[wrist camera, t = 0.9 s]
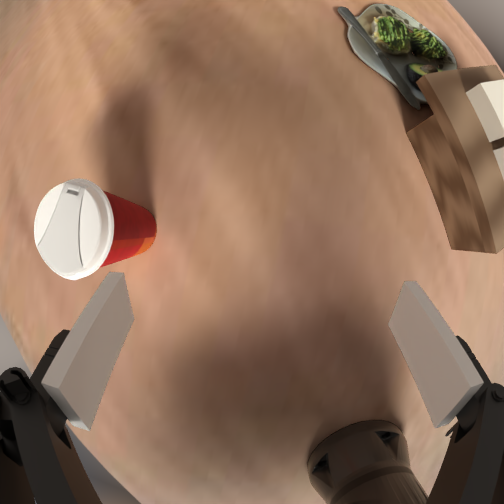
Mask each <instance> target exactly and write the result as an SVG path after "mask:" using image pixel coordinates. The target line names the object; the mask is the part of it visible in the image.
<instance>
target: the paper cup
mask: <svg viewBox="0 0 504 504" xmlns="http://www.w3.org/2000/svg"><path fill="white" fill-rule="evenodd" d="M156 232H157V228H156V222H155V219H154V217H153V216H152V214H151V213H150V212H149V211H148V210H146V209H145V208H143V207H141V206H139V205H137V204H135V203H132V202H130V201H127V200H125V199H123V198H120V197H118V196H115V195H113V194H110V193H108V192H105V191H103V190H102V189H101V188H100V187H99V186H98V185H96V184H95V183H93V182H91V181H89V180H86V179H80V178H79V179H72V180H68V181H66V182H64V183H61V184H59V185H57V186H55V187H54V188H53V189H51V190H50V191H49V192H48V193H47V194H46V195H45V197H44V198H43V200H42V201H41V203H40V205H39V207H38V210H37V213H36V217H35V223H34V237H35V243H36V247H37V249H38V251H39V253H40V255H41V257H42V258H43V260H44V261H45V263H46V264H47V265H48V266H49V267H50V268H51V269H52V270H53V271H54V272H55V273H57V274H58V275H60V276H62V277H63V278H66V279H70V280H77V279H80V278H83V277H86V276H88V275H90V274H92V273H93V272H95V271H96V270H97V269H98V268H100V267H103V266H106V265H109V264H112V263H115V262H118V261H121V260H124V259H127V258H130V257H133V256H135V255H138V254H141V253H143V252H145V251H146V250H147V249H149V248H150V247H151V245H152V244H153V242H154V240H155V237H156Z"/></svg>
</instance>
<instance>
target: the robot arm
mask: <svg viewBox="0 0 504 504" xmlns="http://www.w3.org/2000/svg"><path fill="white" fill-rule="evenodd" d="M133 321H134V315H133V311H132V307H131V303H130V299H129V294H128V290H127V285H126V281H125V276H124V273H121V272H109V273H108V274H107V276H106V277H105V279H104V280H103V282H102V283H101V285H100V286H99V287H98V289H97V290H96V292H95V293H94V295H93V296H92V298H91V299H90V301H89V302H88V304H87V305H86V307H85V308H84V310H83V312H82V313H81V315H80V316H79V318H78V319H77V321H76V323H75V324H74V326H73V327H72V329H71V331H69V330H62V331H61V332H60V333H59V334H58V335H56V336H55V337H54V339H53V340H52V342H51V344H50V345H49V348H48V349H47V350H46V352H45V355H43V357H42V359H41V360H40V362H39V364H38V365H37V367H36V369H35V371H34V372H33V374H32V376H31V378H30V379H29V377H28V376H27V374H26V373H25V371H23V370H22V369H21V368H17V367H13V368H9V369H8V370H6V371H4V372H3V373H2V375H1V376H0V391H1V392H0V504H35V500H36V503H37V504H102V502H101V501H100V499H99V497H98V495H97V493H96V491H95V490H94V488H93V486H92V484H91V482H90V480H89V478H88V476H87V474H86V472H85V470H84V468H83V465H82V463H81V461H80V459H79V457H78V454H77V452H76V450H75V447H74V445H73V442H72V440H71V438H70V435H69V432H68V430H67V428H66V426H65V423H66V420H67V419H68V420H69V421H70V422H71V424H72V425H73V426H75V427H78V428H82V429H85V430H88V431H90V429H91V427H92V424H93V421H94V418H95V415H96V412H97V410H98V407H99V404H100V401H101V399H102V396H103V393H104V391H105V388H106V386H107V383H108V380H109V378H110V375H111V373H112V370H113V368H114V365H115V363H116V360H117V358H118V356H119V353H120V351H121V348H122V346H123V344H124V341H125V339H126V337H127V334H128V332H129V330H130V328H131V325H132V323H133ZM388 326H389V328H390V330H391V332H392V334H393V336H394V338H395V340H396V342H397V344H398V346H399V348H400V350H401V352H402V354H403V356H404V358H405V360H406V362H407V364H408V367H409V369H410V371H411V373H412V375H413V378H414V380H415V382H416V384H417V387H418V389H419V391H420V393H421V396H422V398H423V400H424V403H425V405H426V408H427V410H428V412H429V415H430V417H431V420H432V422H433V425H434V427H435V428H438V427H441V426H444V425H447V424H449V423H450V422H451V421H452V420H453V419H454V417H455V416H456V417H457V419H458V422H457V423H456V424H455V425H454V426H453V427H452V428H451V429H450V430H449V431H448V432H447V433H446V435H445V436H448V435H449V434H450V433H451V432H452V431H453V433H452V436H451V437H450V438H451V439H450V443H449V446H448V449H447V452H446V455H445V458H444V460H443V463H442V466H441V469H440V471H439V474H438V476H437V479H436V481H435V484H434V486H433V488H432V491H431V493H430V495H429V497H428V496H427V494H426V493H425V491H424V490H423V488H422V486H421V485H420V483H419V482H418V480H417V479H416V477H415V476H414V474H413V472H412V471H411V469H410V461H409V453H408V446H407V441H406V439H405V437H404V435H403V434H402V432H401V431H400V430H399V428H398V427H397V426H396V425H394V424H392V423H390V422H387V421H382V420H370V421H364V422H359V423H356V424H353V425H350V426H347V427H345V428H343V429H341V430H339V431H337V432H335V433H334V434H332V435H330V436H329V437H328V438H326V439H325V440H324V441H323V442H322V443H320V444H319V445H318V447H317V448H316V449H315V450H314V451H313V453H312V455H311V456H310V458H309V461H308V474H309V479H310V482H311V484H312V486H313V487H314V488H315V490H316V491H317V492H318V493H319V495H320V496H321V497H322V498H323V499H324V501H325V502H326V503H327V504H504V387H503V386H502V385H500V384H497V383H493V384H492V383H491V382H490V380H489V378H488V377H487V375H486V373H485V372H484V370H483V368H482V367H481V365H480V363H479V362H478V360H477V359H476V357H475V355H474V354H473V353H472V351H471V349H470V347H469V346H468V344H467V343H466V342H465V341H464V340H463V339H462V338H461V337H459V336H455V335H454V333H453V332H452V330H451V329H450V327H449V326H448V324H447V323H446V321H445V320H444V318H443V317H442V316H441V314H440V313H439V311H438V310H437V308H436V307H435V306H434V304H433V303H432V301H431V300H430V299H429V297H428V296H427V295H426V293H425V292H424V291H423V289H422V288H421V287H420V285H419V284H418V283H417V281H404V283H403V286H402V289H401V291H400V294H399V297H398V300H397V302H396V305H395V308H394V310H393V313H392V315H391V318H390V321H389V323H388ZM34 498H35V500H34Z"/></svg>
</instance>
